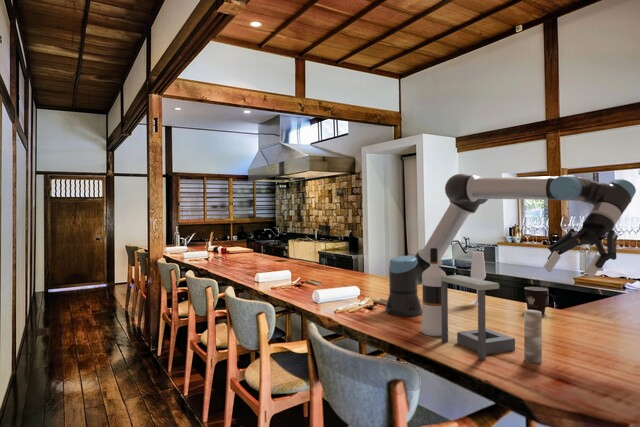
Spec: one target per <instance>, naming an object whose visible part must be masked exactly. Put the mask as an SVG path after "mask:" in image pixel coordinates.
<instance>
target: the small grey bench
mask: <svg viewBox="0 0 640 427" xmlns="http://www.w3.org/2000/svg"><path fill="white" fill-rule="evenodd" d="M448 284H453V285H456V286H457V285H458V286H461V287H464V288H465V287H466V288H469V289H473V290H476V291H477V290H478V305H477V330H478V352H477V356H478V358H477V359H478V360H480V361H486V359H487V356H486V355H487V354H486V328H487V327H486V324H487V323H486V305H485V303H486V291H487V290H498V289H499V290H500V283H498V282H495V281H489V280H485V279H484V280H480V279H475V278H472V277H471V276H464V275H461V274H454V275H446V276H441V328H442V336H441V343H449V321H448V320H449V316H448V314H449V312H448V311H449V310H448V309H449V308H448V306H449V304H448V303H449V302H448V299H449V297H448V296H449V292H448V289H449V288H448V287H449V286H448Z"/></svg>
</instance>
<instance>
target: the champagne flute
mask: <svg viewBox="0 0 640 427" xmlns="http://www.w3.org/2000/svg"><path fill="white" fill-rule="evenodd" d="M471 255H472V256H471V265H470V278H475V279H480V280H485V279H486V277H487V273H486V264H485V254H484V251H472V254H471ZM470 304H471V305H474V306H475V305H476V306H478V290H477V289H476V299H475V300H473V301H472V302H470ZM486 305H487V304H486V302H485V306H486Z"/></svg>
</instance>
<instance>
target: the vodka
mask: <svg viewBox="0 0 640 427" xmlns="http://www.w3.org/2000/svg"><path fill="white" fill-rule="evenodd" d="M437 254H438V249H437V248H430V267H429V268H427V269H426V270H425V271H423V273H422V284H421V285H422V286H421V287H422V288H421V290H422V304H421V307H422V315H421V316H422V317H421V325H420V331H421V333H422V334H424V335H425V336H428V337H437V338H438V337H442V328H441V276H447V274H446V271H444V270H443V269H442V268H441V267H440V268H441V269H440V268H439V267H438V255H437Z"/></svg>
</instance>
